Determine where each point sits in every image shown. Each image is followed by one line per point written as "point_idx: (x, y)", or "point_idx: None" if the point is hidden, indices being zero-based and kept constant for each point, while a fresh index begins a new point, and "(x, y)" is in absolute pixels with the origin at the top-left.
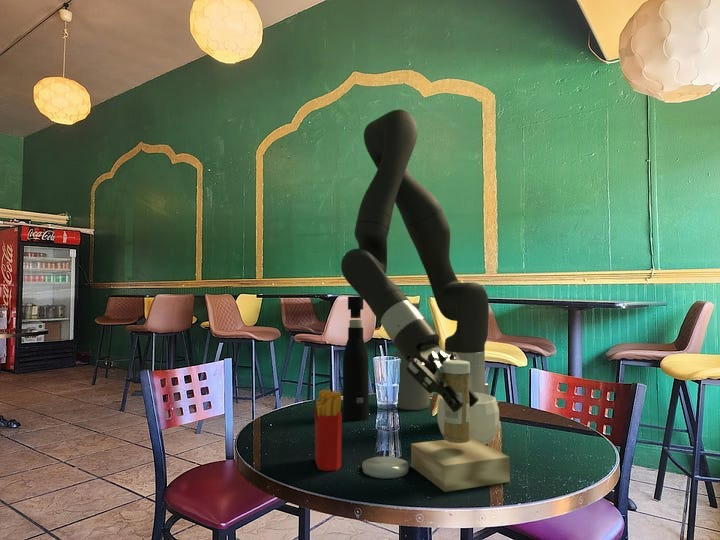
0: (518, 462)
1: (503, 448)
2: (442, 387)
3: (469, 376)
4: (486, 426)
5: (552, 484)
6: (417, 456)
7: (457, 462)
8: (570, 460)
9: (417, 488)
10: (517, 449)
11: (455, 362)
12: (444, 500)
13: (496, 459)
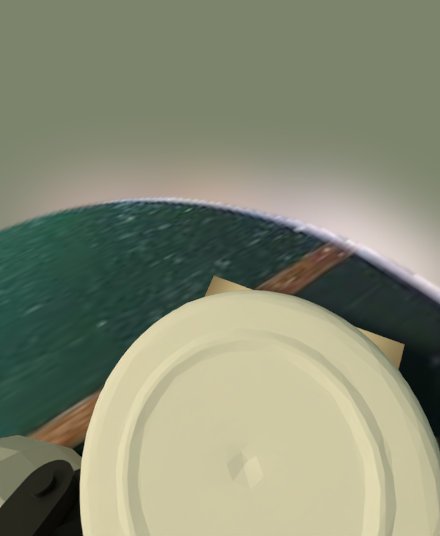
0: (105, 344)
1: (28, 430)
2: (437, 437)
3: (39, 467)
4: (50, 444)
5: (177, 238)
6: None
7: None
8: (33, 278)
9: (426, 415)
10: (18, 397)
11: (356, 393)
12: (414, 324)
13: (248, 288)
